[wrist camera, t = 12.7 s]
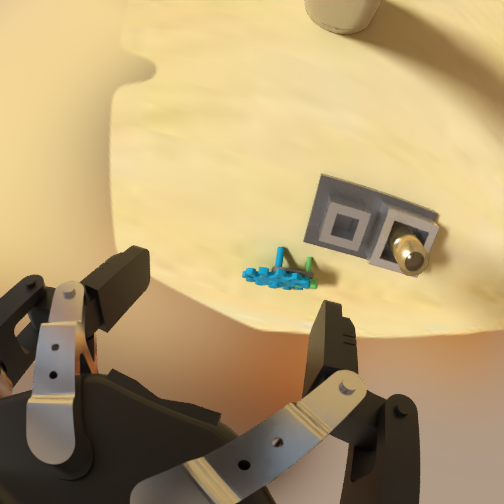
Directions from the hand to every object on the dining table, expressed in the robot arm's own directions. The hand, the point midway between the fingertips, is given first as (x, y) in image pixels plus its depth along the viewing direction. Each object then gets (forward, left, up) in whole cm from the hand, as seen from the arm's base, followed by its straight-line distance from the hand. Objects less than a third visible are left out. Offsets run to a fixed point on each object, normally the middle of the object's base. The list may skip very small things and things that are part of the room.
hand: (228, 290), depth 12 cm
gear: (+15, +2, -28) cm, 32 cm away
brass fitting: (+4, +17, -27) cm, 32 cm away
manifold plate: (+4, +13, -28) cm, 31 cm away
